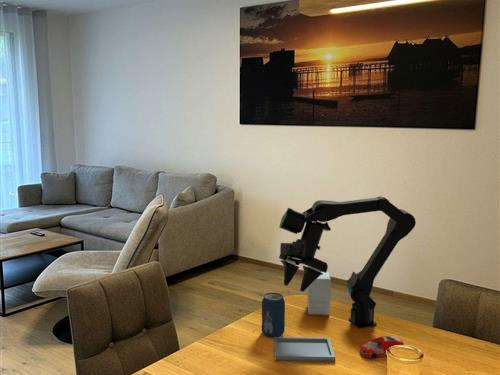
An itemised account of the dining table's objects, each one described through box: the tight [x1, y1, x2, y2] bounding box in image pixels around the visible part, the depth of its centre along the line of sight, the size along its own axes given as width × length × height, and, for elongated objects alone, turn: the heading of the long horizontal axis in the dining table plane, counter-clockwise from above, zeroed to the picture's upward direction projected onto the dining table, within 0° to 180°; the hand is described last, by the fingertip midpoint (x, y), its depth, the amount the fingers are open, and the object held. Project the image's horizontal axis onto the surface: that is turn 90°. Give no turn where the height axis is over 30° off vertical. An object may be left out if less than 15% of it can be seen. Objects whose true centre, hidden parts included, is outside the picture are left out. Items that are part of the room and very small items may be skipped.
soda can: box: [261, 292, 286, 339], centre depth 138 cm, size 7×7×12 cm
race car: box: [359, 335, 405, 360], centre depth 128 cm, size 13×5×4 cm, turn 109°
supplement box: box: [306, 271, 332, 316], centre depth 155 cm, size 7×7×13 cm
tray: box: [273, 336, 336, 363], centre depth 128 cm, size 16×11×2 cm
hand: (293, 288), depth 139 cm, fingers open, 9 cm apart
